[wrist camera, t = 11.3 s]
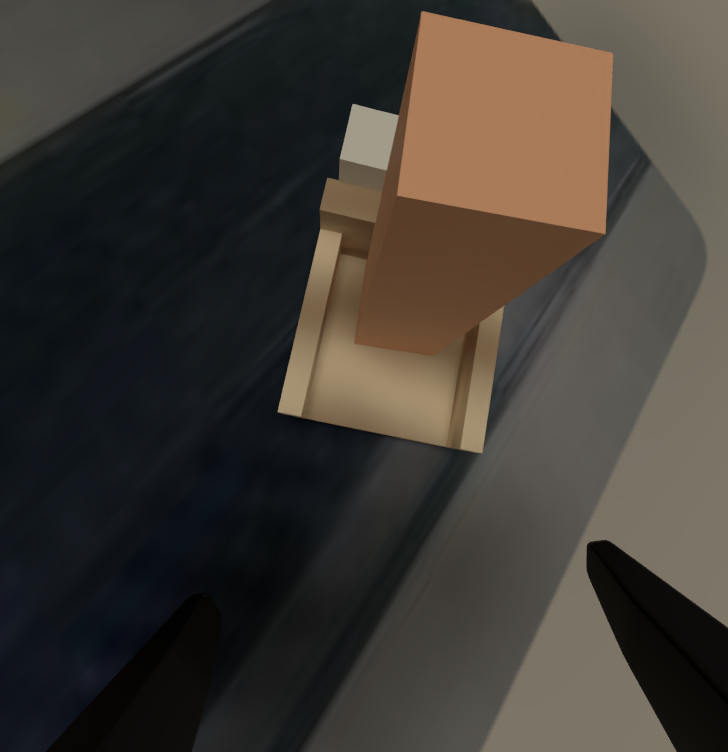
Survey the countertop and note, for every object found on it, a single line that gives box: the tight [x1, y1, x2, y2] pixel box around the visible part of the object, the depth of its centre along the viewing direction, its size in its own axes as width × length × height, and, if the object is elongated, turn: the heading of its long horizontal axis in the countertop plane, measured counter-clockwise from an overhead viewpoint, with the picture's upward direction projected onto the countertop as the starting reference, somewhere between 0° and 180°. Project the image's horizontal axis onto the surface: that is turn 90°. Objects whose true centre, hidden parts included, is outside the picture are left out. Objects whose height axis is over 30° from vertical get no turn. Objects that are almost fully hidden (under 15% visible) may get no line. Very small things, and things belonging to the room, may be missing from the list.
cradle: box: [278, 178, 504, 453], centre depth 18 cm, size 10×9×4 cm
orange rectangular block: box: [354, 11, 613, 356], centre depth 13 cm, size 4×4×12 cm
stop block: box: [339, 104, 399, 191], centre depth 18 cm, size 2×8×6 cm, turn 78°
